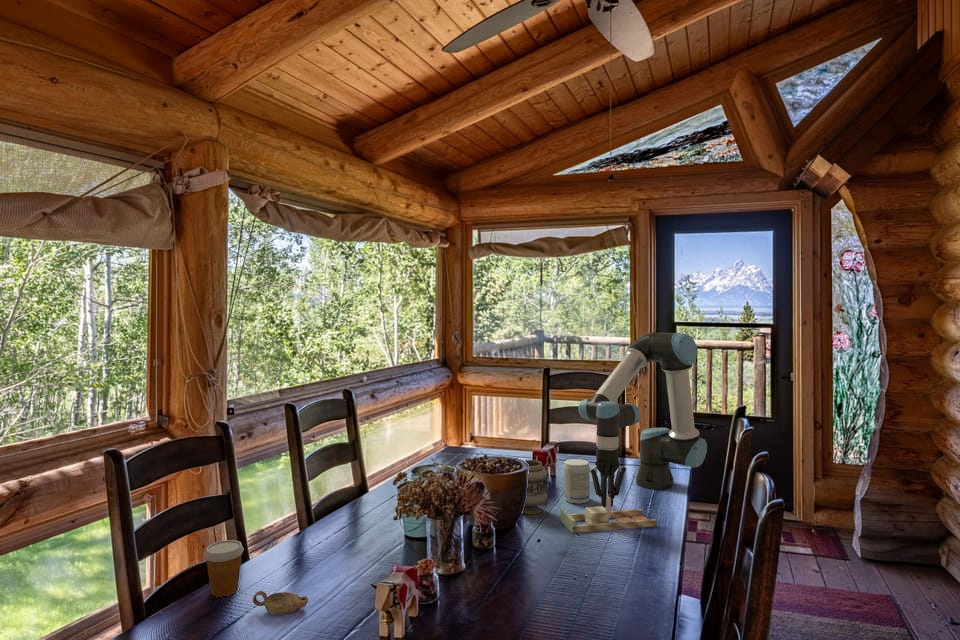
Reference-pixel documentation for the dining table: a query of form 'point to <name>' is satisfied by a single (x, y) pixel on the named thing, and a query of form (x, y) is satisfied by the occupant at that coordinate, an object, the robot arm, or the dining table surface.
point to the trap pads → (639, 517)
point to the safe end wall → (567, 520)
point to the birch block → (596, 515)
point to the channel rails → (614, 524)
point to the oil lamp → (281, 602)
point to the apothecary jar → (535, 489)
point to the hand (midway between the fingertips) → (607, 516)
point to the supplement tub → (576, 481)
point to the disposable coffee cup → (224, 566)
